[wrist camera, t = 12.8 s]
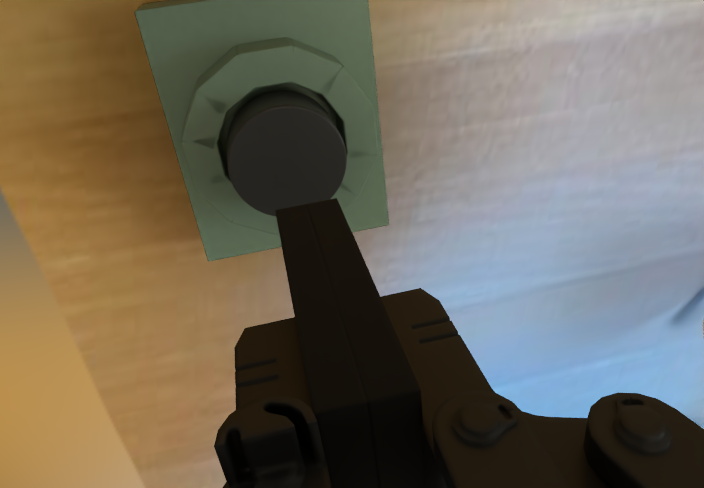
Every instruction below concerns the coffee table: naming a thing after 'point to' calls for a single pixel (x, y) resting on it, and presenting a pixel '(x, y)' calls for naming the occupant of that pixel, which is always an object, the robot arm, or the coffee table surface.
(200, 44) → the button box
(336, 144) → the button
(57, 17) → the coffee table surface
